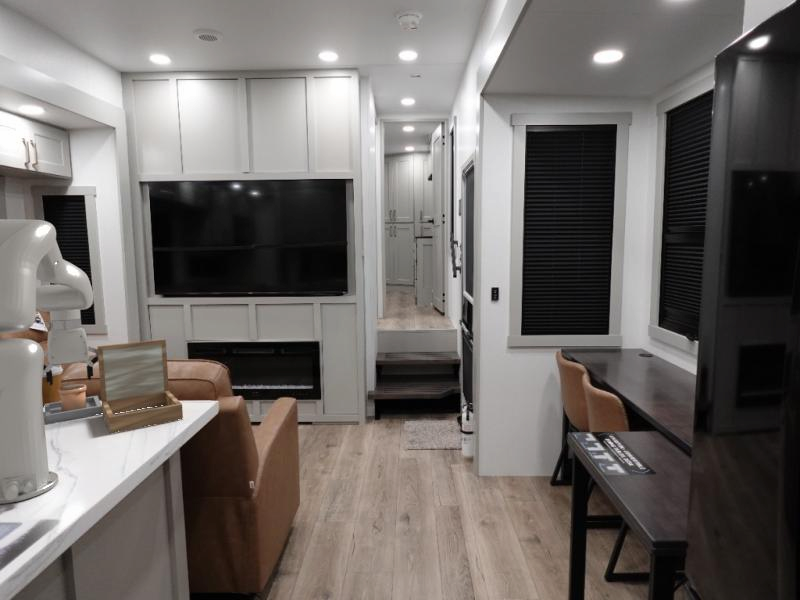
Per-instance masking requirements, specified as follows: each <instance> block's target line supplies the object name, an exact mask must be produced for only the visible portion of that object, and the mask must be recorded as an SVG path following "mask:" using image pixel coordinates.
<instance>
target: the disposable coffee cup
mask: <svg viewBox="0 0 800 600" xmlns="http://www.w3.org/2000/svg"><path fill="white" fill-rule="evenodd" d="M45 365H46V366H47V365H48V364H45ZM51 371H52V379H53V384H52V385H50V382H47V378H46V372H45V371H44V370H43V376H42V402H43V406H45V405H44V404H48V403H54V402H60V401H61V399H60V394H58V389H59V388H61V387H62V373H63V371H64V368H63V366H62V365H54V366H53V367H52V368H51Z"/></svg>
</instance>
